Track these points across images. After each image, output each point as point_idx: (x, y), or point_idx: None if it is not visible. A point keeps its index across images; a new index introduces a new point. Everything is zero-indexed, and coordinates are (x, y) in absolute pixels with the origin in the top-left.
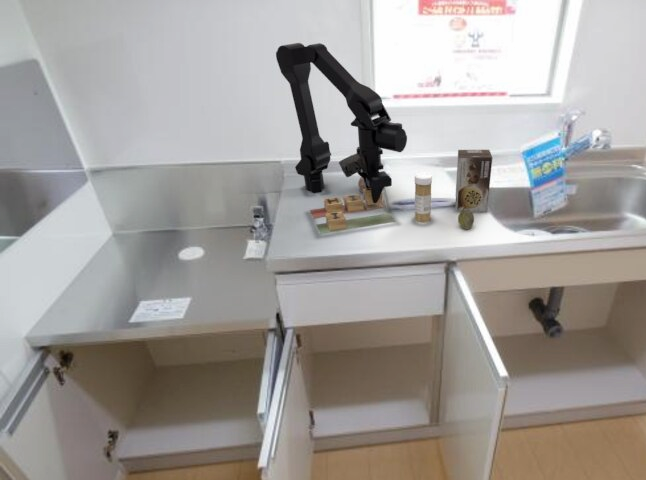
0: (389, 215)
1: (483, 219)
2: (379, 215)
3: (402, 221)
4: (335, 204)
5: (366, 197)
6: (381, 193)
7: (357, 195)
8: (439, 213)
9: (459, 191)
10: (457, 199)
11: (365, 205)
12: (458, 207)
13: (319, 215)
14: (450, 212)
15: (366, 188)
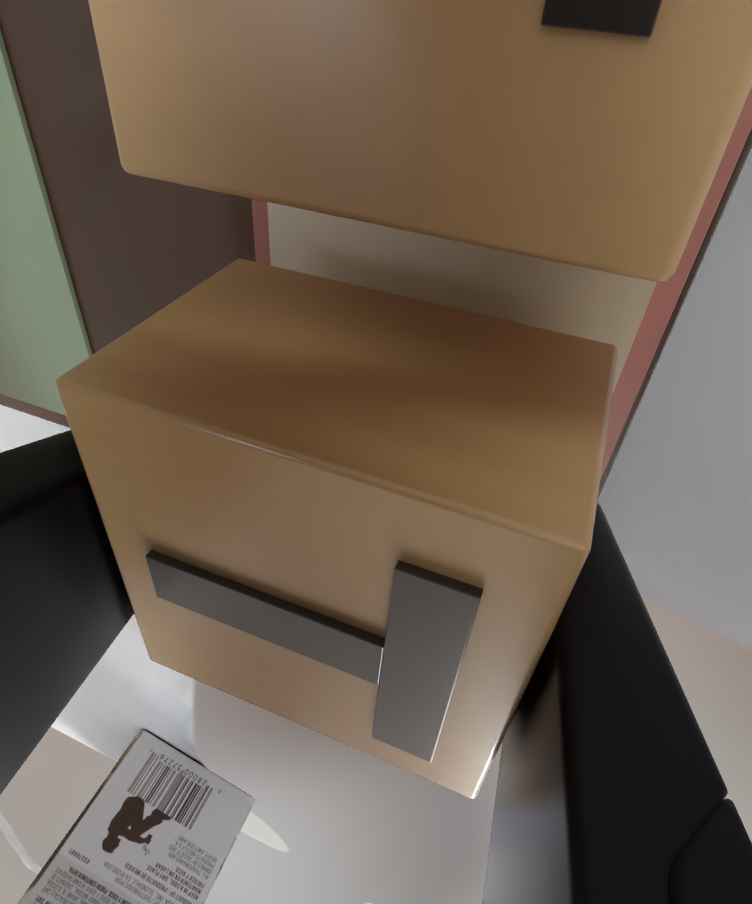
0: (42, 389)
1: (54, 721)
2: (41, 279)
3: (15, 431)
4: None
5: (211, 347)
6: (147, 644)
7: (555, 169)
8: (137, 676)
9: (31, 885)
10: (89, 817)
11: (460, 259)
12: (119, 760)
13: None
14: (143, 711)
15: (590, 651)
